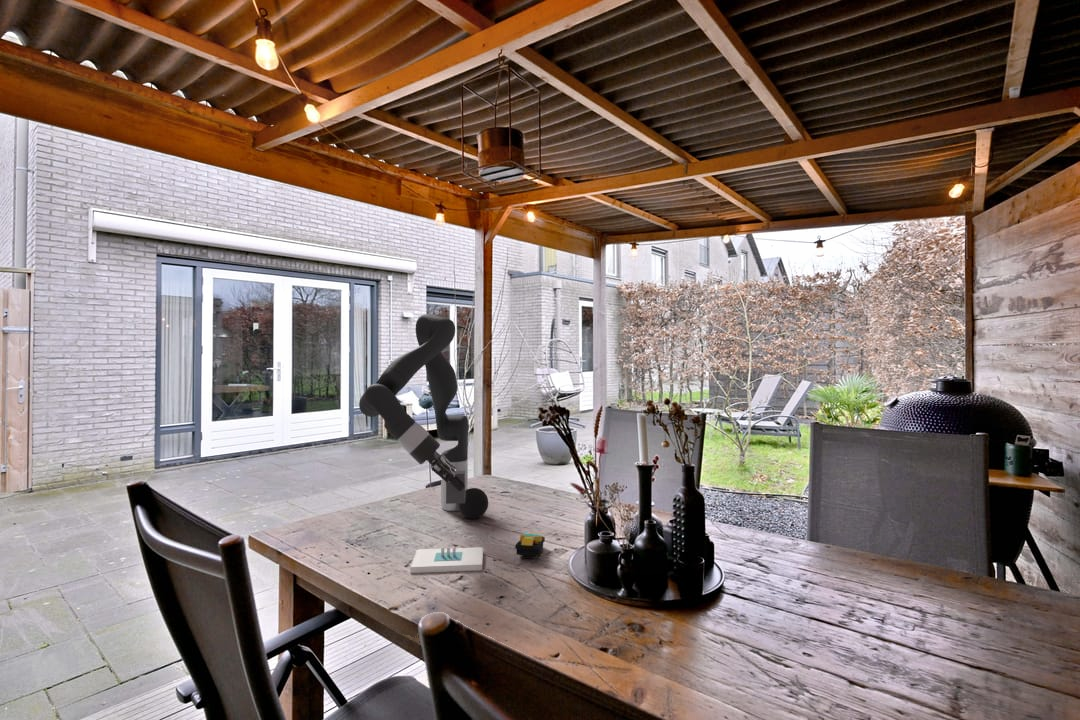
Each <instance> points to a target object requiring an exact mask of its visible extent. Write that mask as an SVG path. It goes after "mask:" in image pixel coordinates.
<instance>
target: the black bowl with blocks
mask: <svg viewBox="0 0 1080 720" xmlns="http://www.w3.org/2000/svg"><path fill="white" fill-rule="evenodd" d="M545 539H546V537H545V536H542V535H541V534H537V533H536V532H531V533H521V534H520V537H519V540H518V542H517V543H516V544H515V545H514V547H515V548H514V549H516V555H517V556H521V557H523V558H524V559H535V558H537V557H540V555H541V554H542V551H543V550H544V543H545V541H546V540H545Z"/></svg>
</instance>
